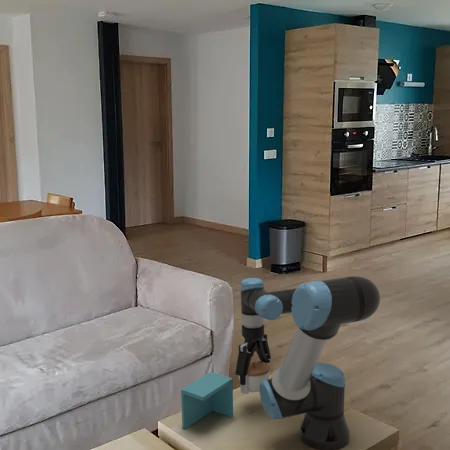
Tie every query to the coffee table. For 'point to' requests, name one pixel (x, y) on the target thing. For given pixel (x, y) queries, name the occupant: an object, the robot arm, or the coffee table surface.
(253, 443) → the coffee table surface
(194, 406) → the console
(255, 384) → the lidded jar
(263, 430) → the coffee table surface
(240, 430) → the coffee table surface
